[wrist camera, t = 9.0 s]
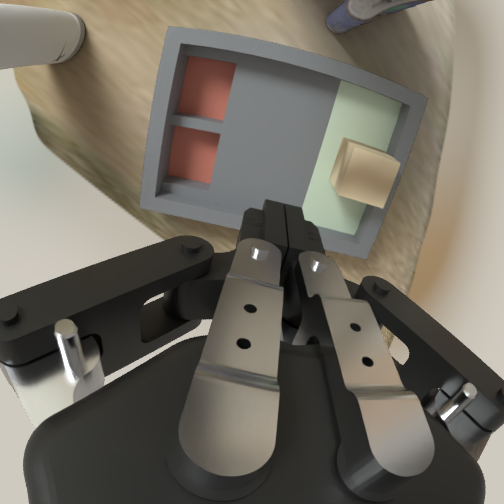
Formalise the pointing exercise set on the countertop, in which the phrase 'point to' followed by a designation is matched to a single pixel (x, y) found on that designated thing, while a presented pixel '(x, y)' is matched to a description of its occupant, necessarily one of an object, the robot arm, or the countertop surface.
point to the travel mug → (38, 36)
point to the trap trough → (268, 133)
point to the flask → (364, 12)
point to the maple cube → (363, 173)
